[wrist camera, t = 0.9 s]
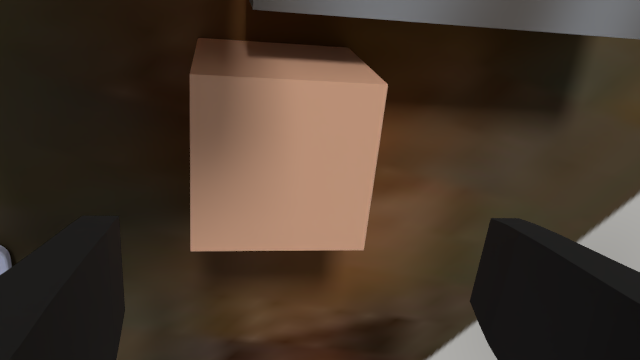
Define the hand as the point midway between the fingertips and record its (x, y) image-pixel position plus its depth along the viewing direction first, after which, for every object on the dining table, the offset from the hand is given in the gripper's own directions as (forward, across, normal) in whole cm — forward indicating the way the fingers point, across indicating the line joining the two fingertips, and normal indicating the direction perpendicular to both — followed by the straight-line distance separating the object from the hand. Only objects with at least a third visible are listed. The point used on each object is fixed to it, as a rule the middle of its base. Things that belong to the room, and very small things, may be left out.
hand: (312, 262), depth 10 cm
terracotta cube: (+10, 0, 0) cm, 10 cm away
